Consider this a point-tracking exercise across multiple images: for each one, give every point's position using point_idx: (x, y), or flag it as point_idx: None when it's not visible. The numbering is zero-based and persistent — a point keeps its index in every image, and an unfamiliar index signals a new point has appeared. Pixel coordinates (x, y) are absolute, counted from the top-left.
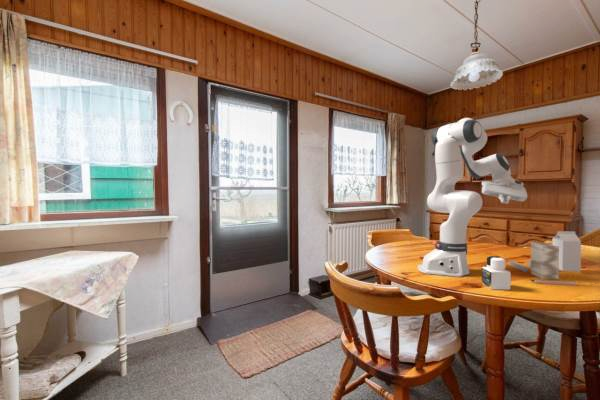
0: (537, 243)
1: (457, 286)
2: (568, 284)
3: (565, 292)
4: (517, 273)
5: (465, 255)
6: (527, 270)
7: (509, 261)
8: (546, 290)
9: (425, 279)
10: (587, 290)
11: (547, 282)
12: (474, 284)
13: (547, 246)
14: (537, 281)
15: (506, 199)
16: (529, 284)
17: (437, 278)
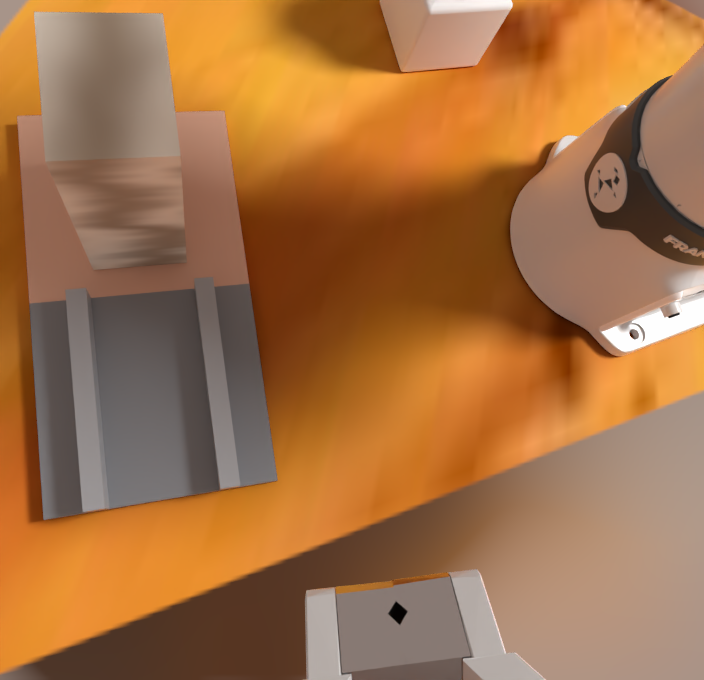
0: (148, 113)
1: (572, 11)
2: None
3: (149, 10)
4: None
5: (591, 152)
6: (194, 284)
7: (239, 480)
8: (224, 22)
9: None
10: (17, 55)
11: None
12: (507, 49)
13: (125, 15)
14: (218, 112)
15: (379, 653)
16: (265, 96)
17: None
